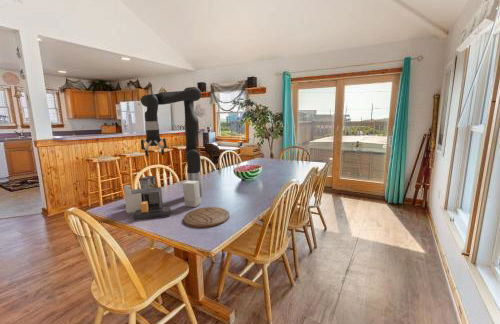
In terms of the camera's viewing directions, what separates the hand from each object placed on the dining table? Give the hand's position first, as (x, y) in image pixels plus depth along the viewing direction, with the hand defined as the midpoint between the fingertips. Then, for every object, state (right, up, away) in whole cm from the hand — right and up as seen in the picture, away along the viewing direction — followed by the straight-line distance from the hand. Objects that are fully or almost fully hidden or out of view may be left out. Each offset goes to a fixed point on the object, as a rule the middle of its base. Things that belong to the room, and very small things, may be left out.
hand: (155, 155), depth 151 cm
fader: (-3, -32, -8) cm, 33 cm away
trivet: (+34, -36, -12) cm, 50 cm away
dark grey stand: (-7, -33, +3) cm, 34 cm away
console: (+1, -35, -7) cm, 36 cm away
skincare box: (+21, -32, +9) cm, 39 cm away
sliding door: (-11, -34, -3) cm, 35 cm away
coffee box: (-12, -30, +22) cm, 39 cm away
